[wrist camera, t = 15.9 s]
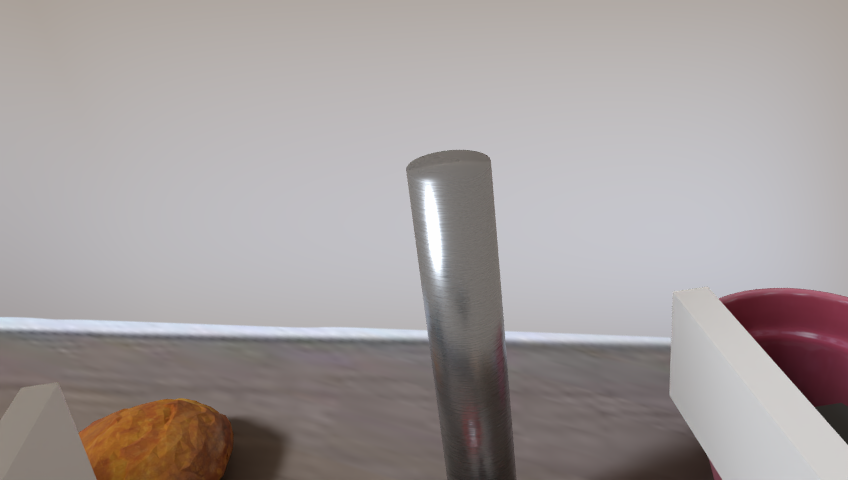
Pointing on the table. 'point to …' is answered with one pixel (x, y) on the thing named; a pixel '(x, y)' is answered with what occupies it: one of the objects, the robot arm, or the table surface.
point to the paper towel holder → (464, 311)
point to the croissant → (160, 442)
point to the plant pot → (799, 338)
